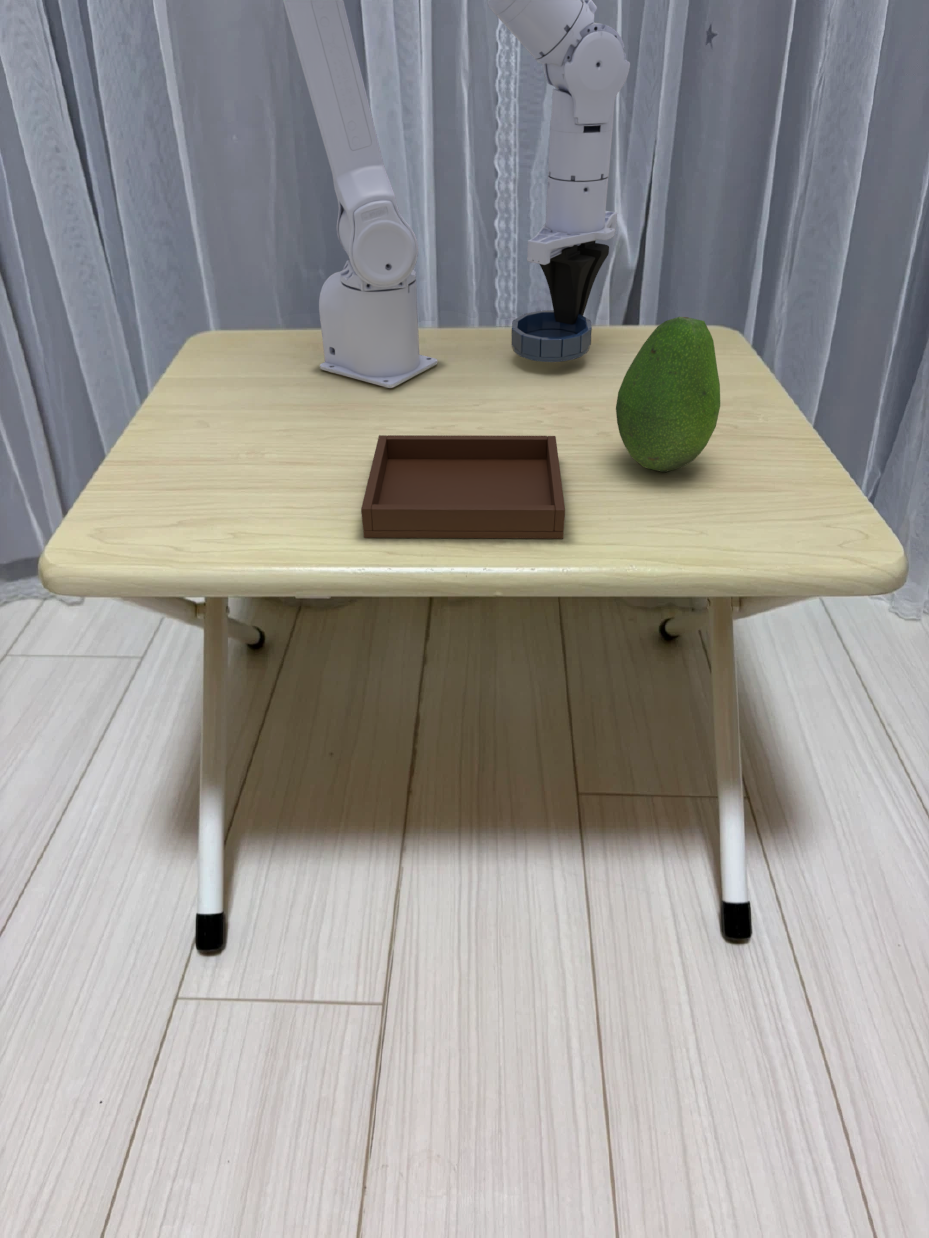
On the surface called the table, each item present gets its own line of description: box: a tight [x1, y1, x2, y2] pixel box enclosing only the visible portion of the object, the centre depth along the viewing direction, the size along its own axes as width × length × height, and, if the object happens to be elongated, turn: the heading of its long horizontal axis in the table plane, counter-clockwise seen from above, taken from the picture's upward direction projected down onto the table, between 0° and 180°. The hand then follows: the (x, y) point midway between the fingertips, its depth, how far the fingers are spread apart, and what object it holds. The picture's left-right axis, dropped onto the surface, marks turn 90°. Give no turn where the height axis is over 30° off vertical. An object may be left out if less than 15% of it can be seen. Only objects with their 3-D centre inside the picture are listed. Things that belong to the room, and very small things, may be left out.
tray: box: [360, 434, 566, 540], centre depth 66 cm, size 14×12×2 cm
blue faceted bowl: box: [510, 309, 593, 363], centre depth 88 cm, size 8×8×2 cm
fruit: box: [615, 316, 721, 473], centre depth 67 cm, size 8×8×12 cm
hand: (568, 320), depth 90 cm, fingers closed on blue faceted bowl, 1 cm apart
